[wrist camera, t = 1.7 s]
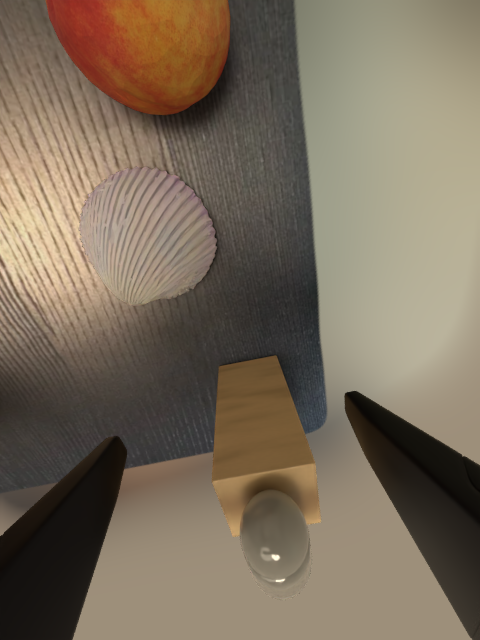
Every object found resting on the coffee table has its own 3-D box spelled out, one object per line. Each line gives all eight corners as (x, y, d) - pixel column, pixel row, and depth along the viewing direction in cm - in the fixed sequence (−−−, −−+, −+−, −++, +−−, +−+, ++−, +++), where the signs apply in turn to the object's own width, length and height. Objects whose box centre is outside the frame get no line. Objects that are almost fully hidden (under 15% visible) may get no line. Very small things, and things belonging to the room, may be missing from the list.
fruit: (123, -79, 12) (-26, -507, 5) (251, 34, 14) (275, -160, 7) (80, 85, 15) (-62, -44, 8) (194, 162, 17) (167, 118, 10)
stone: (303, 524, 15) (323, 607, 12) (249, 533, 16) (255, 618, 12) (294, 469, 13) (317, 552, 10) (232, 480, 13) (234, 566, 10)
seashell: (49, 294, 17) (35, 129, 12) (93, 266, 22) (96, 138, 16) (185, 338, 19) (227, 213, 13) (199, 304, 23) (234, 200, 18)
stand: (283, 400, 26) (321, 522, 15) (230, 409, 26) (232, 537, 16) (276, 354, 24) (315, 463, 13) (218, 366, 24) (211, 481, 13)
